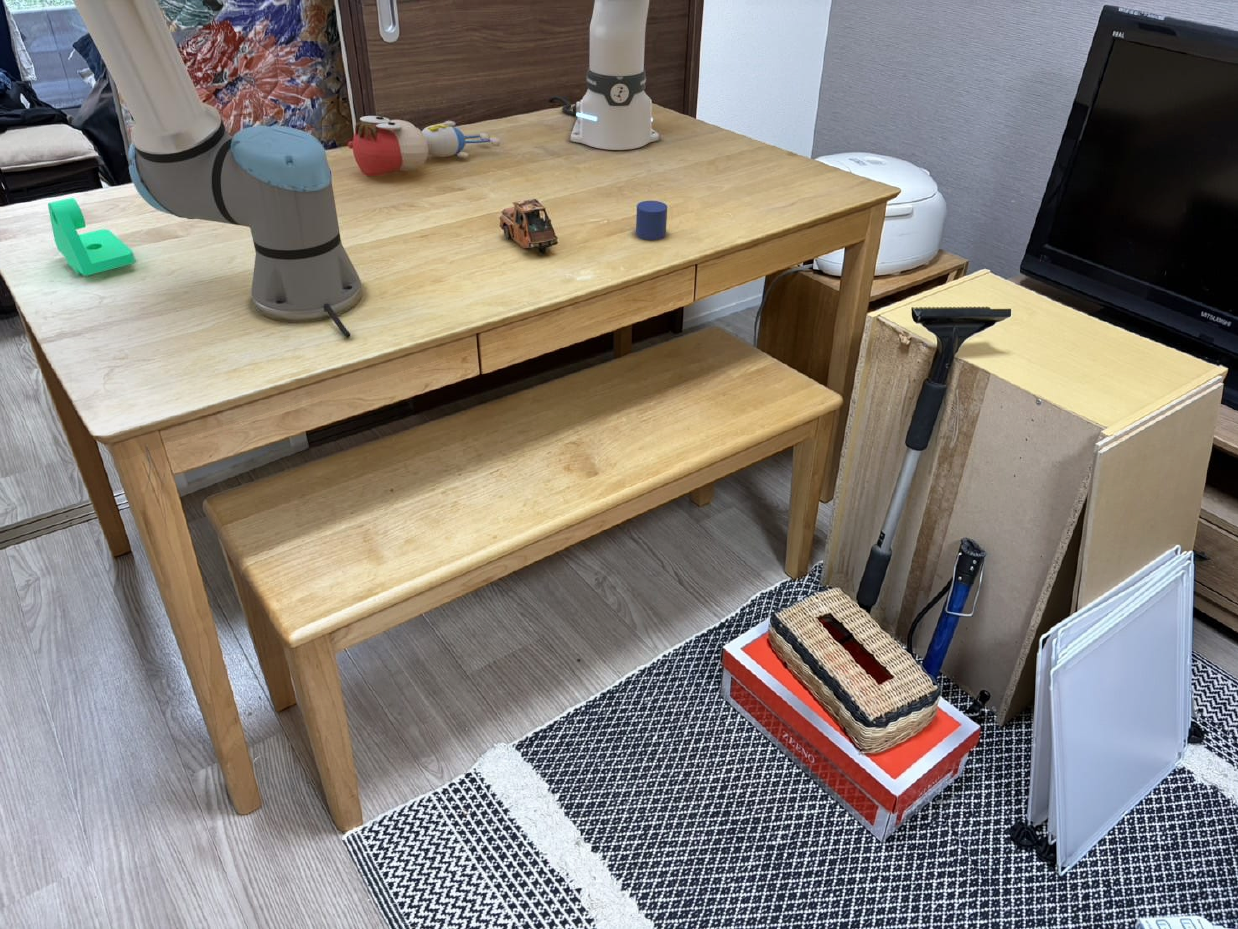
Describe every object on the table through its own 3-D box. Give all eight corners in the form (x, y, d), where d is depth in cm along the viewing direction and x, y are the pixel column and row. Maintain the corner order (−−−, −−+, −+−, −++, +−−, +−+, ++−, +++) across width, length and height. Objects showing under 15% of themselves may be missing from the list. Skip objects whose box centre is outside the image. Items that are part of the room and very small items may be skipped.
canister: (665, 228, 159) (666, 200, 156) (666, 240, 155) (667, 212, 152) (635, 227, 159) (636, 199, 156) (635, 239, 155) (636, 211, 152)
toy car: (524, 226, 158) (523, 186, 153) (566, 250, 150) (565, 209, 146) (492, 235, 154) (490, 194, 150) (533, 260, 147) (532, 218, 143)
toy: (516, 122, 178) (364, 126, 163) (515, 176, 183) (367, 184, 168) (475, 107, 191) (331, 109, 176) (475, 157, 196) (335, 163, 181)
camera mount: (139, 268, 141) (119, 203, 135) (86, 282, 137) (63, 216, 130) (111, 243, 148) (91, 180, 142) (60, 256, 144) (37, 191, 137)
